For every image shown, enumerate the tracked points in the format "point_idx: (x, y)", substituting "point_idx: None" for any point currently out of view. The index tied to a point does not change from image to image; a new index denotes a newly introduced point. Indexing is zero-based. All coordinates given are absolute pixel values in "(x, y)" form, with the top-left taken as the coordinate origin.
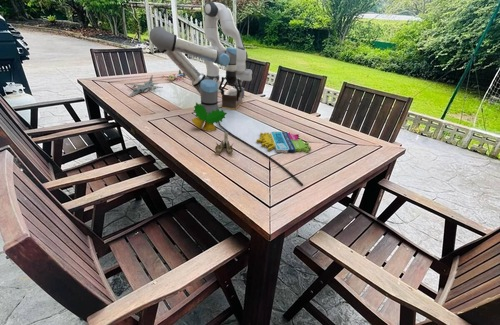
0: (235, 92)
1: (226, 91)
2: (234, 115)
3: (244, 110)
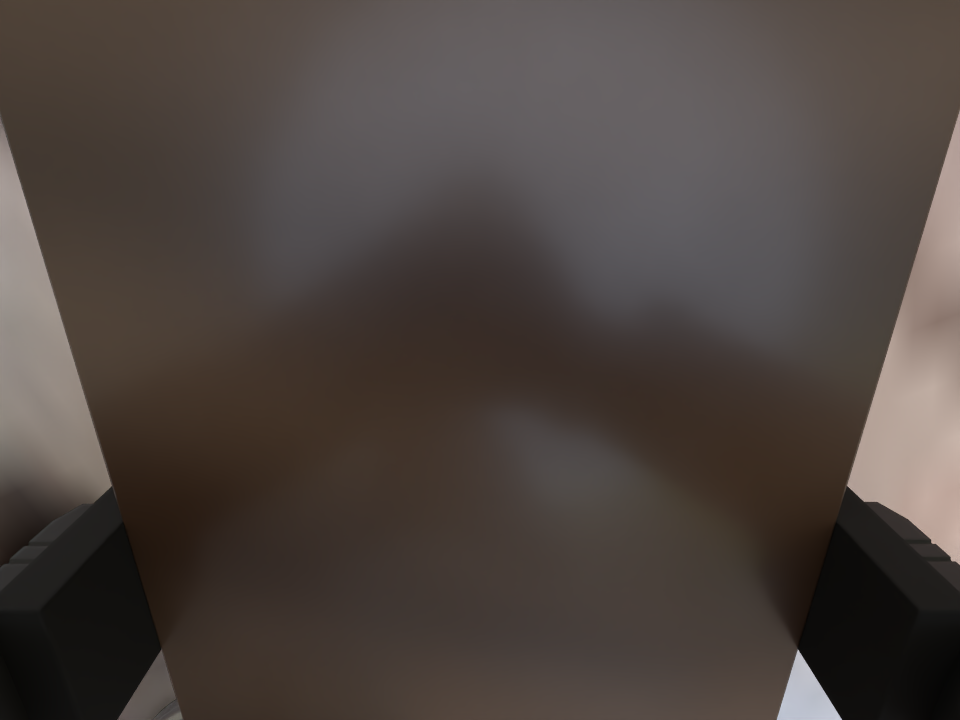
0: (680, 292)
1: (119, 311)
2: None
3: None
